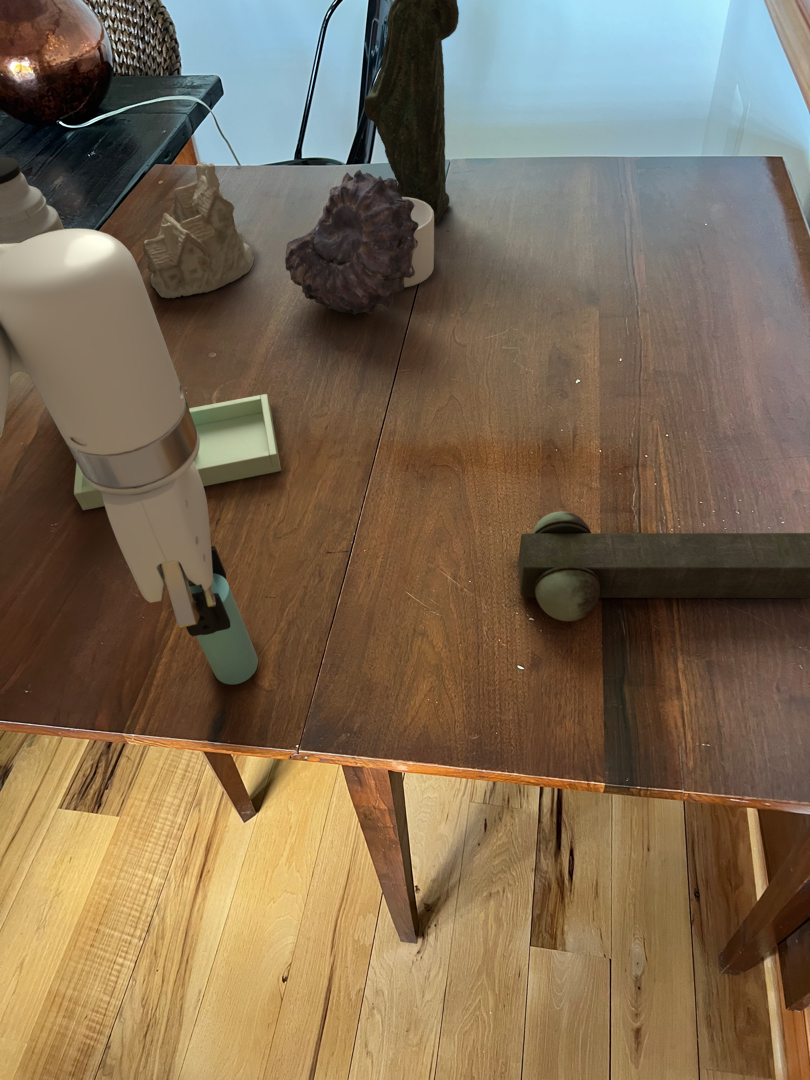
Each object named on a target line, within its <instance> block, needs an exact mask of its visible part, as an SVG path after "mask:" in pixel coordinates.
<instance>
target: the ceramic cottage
mask: <svg viewBox="0 0 810 1080" xmlns="http://www.w3.org/2000/svg"><path fill="white" fill-rule="evenodd" d="M195 173H196V181H193V182H192V183H189V184H186V185H184V186H180V187H177V188H174V189H173V194H172V195H173V205H172V210H171V212H172V214H173V216H174V217H172V216H170V215H169V213H167V212H164V213H162V216H163V217H162V218H161V223H160V226H159V228H160V229H159V233H158V235H157V237H155V238H152V239H145V240H144V242H143V243H142V252H143V254H144V255H145V264H146V266H145V268H146V270H147V269H148V271H149V272H150V273H151V275H150V276H151V277H150V278H149V279H150V283H151V287H152V288H154V289H155V291H156V292H157V293H158V295H159V296H160V297H161V298H165V299H176V298H177V297H178V298H180V297H181V296H183V297H189V296H192V295H196V294H203V293H206V294H207V293H209V292H212V291H215V290H217V289H220V288H221V287H225V286H226V285H227V284H229V283H233V282H234V281H237V280H238V279H240V278H241V277H242V276H245V275H246V274H247V273H249V272H250V271H251V269H252V267H253V265H254V261H255V256H254V253H253V250H252V248H251V246H250V245H248V244H247V243H246V241H245V239H244V237H243V234H242V233H240V232H239V230H238V227H237V225H236V224H235V222H236V221H235V218H234V210H235V206H234V205H233V203H232V202H231V201H230V200H228V199H227V198H225V197H224V195H223V194H222V192H221V190H220V185H221V183H220V180H219V177H218V175H217V174H216V165H215V164H214V163H213V162H211V163H208V164H207V163H206V162H204V161H202V162H199V163H197V164H196V165H195Z"/></svg>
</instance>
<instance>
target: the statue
mask: <svg viewBox="0 0 810 1080" xmlns="http://www.w3.org/2000/svg"><path fill="white" fill-rule="evenodd" d="M459 18H460V11H459V6H458V0H393V1H392V2H391V5H390V7H389V10H388V14H387V18H386V27H387V36H386V39H385V42H384V46H383V49H382V63H381V66H380V69H379V71H378V73H377V75H376V78H375V80H374V83H373V85H372V87H371V90H370V91H369V93H368V95H367V96H365V98H364V101H363V105H364V106H363V107H364V114H365V115H364V116H365V117H366V118H367V120H369V121H371V122H373V124H374V126H375V127H376V131H377V133H378V135H379V137H380V140H381V142H382V144H383V146H384V153H385V157H386V159H387V161H388V164H389V167H390V169H391V171H392V173H393V175H394V179H395V180H397V183H398V186H397V192H398V194H400V195H401V197H409V198H414V199H418V200H421V201H424V202H425V203H427V204H428V205H430V207H431V208H432V210H433V211H434V226H436V225H437V224H438V223H439V222H440V220H441V218H442V217H443V215H444V212H445V211H446V209H447V208H448V206H449V205H450V196H449V194H448V193H447V190H446V188H447V187H446V184H447V183H446V181H447V179H446V178H447V177H446V117H445V110H446V109H445V65H444V53H443V41H444V40H446V39H447V38H449V37H451V36H452V35H453V34H455V32H456V30H457V28H458V24H459Z"/></svg>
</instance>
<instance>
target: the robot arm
mask: <svg viewBox="0 0 810 1080" xmlns="http://www.w3.org/2000/svg"><path fill="white" fill-rule="evenodd" d="M19 372H20V373H21V372H22V373H25V374H26V375H28V376H29V377H30V379H31V381H32V384H33V385H34V387H35V389H36V390H37V392H38V395H39V396H40V398H41V400H42V401H43V403H44V405H45V407H46V408H47V411H48V413H49V414H50V417H51V418H52V420H53V422H54V423H55V425H56V428H57V429H58V431H59V433H60V435H61V437H62V438H63V441H64V443H66V445H67V447H68V449H69V451H70V453H71V455H72V456H73V458H74V460H75V463H77V464H78V466H79V468H80V469H81V472H82V474H83V475H84V477H85V479H86V480H87V482H88V483H89V484H91V485H92V486H93V487H94V488H96V489H98V490H100V491H101V493H102V498H103V501H104V505H105V506H104V508H105V511H106V515H107V518H108V521H109V524H110V526H111V529H112V531H113V534H114V536H115V540H116V541H117V544H118V546H119V548H120V551H121V553H122V555H123V557H124V560H125V562H126V563H127V566H128V568H129V570H130V573H131V575H132V577H133V579H134V582H135V583H136V586H137V588H138V590H139V591H140V592H139V593H140V594H141V595H142V597H143V599H145V600H146V602H148V603H151V604H152V603H155V602H156V603H157V602H162V599H163V592H164V587H165V586H166V588H167V592H168V595H169V599H170V602H171V605H172V609H173V613H174V616H175V621H176V624H177V627H178V628H179V629H182V628H185V629H186V631H187V632H188V635H190V636H192V637H196V636H198V635H208V634H212V633H215V632H216V631H221V630H226V629H229V628H230V619H229V617H228V614H227V612H226V610H225V607H224V605H223V602H222V600H221V598H220V595H219V593H214V592H213V589H212V587H211V584H212V581H213V573H215V574H218V575H220V576H222V577H223V578H225V579H226V580H227V573H226V570H225V568H224V565H223V562H222V559H221V557H220V554H219V552H218V550H217V548H216V545H212V537H211V528H210V527H211V526H210V516H209V507H208V506H209V505H208V502H207V494H206V491H205V488H204V487H205V486H203V484H202V481H201V478H200V475H199V472H198V469H197V467H196V464H195V462H194V460H195V458H196V456H197V454H198V451H199V446H200V439H199V435H198V432H197V430H196V427H195V424H194V421H193V418H192V416H191V413H190V410H189V407H190V406H189V405H188V402H187V399H186V397H185V393H184V391H183V388H182V384H181V382H180V379H179V377H178V374H177V371H176V369H175V366H174V364H173V361H172V358H171V355H170V352H169V349H168V347H167V343H166V341H165V338H164V336H163V332H162V330H161V327H160V324H159V320H158V319H157V315H156V313H155V310H154V307H153V304H152V302H151V299H150V296H149V293H148V290H147V288H146V285H145V283H144V279H143V277H142V274H141V271H140V269H139V267H138V264H137V262H136V260H135V258H134V256H133V255H132V252H130V250H129V249H128V248H127V247H126V245H124V243H122V242H121V241H120V240H119V239H117V238H115V237H114V236H112V235H111V234H109V233H105V232H103V231H99V230H95V229H92V228H91V229H90V228H64V230H57V231H52V232H48V233H44V234H41V235H38V236H35V237H32V238H30V239H27V240H25V241H23V242H21V243H12V244H0V440H1V438H2V435H3V432H4V428H5V423H6V416H7V409H8V400H9V393H10V391H9V390H10V381H11V377H12V376H13V375H15V374H16V373H19ZM195 585H200V589H201V590H202V592H199V593H194V594H191V590H190V586H195Z"/></svg>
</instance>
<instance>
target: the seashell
mask: <svg viewBox="0 0 810 1080" xmlns="http://www.w3.org/2000/svg"><path fill="white" fill-rule="evenodd" d="M397 186H398V181H397V180H396V178H393V177H388V178H386V179H383V177H382V176H381V175H379V176H378V177H375V176H373V175H372V173H370V172H366V173H363V171H361V169H358V170H357V171H356V172H355V173H354V175H353V176H352V175H350V174H349V172H346V173H345V174H344V176H343V177H342V181H341V184H340V185H339V186H337V185H336V186H333V187H331V188H330V190H329V196H328V198H327V202H326V203H325V205H324V206H323V208H322V215H321V217H320V218H319V219H318V221H317V223H316V224H315V226H314V227H313V228H312V229H311V230H310V231H309V232H308V233H307V234H305V235H303V236H300V237H298V238H294V239H293V240H290V241H288V242H287V244H286V250H285V258H284V264H285V270H286V271H288V272H289V275H290V281H292V282H293V284H295V285H297V286H299V287H301V288H302V290H301V292H302V293H303V294H304V297H305V298H306V300H311V301H312V300H313V301H314V302H316V304H319V305H322V306H323V308H325V309H332V310H335V311H337V312H340V313H343V314H344V313H345V314H347V313H349V314H353V315H357V314H362V313H367V314H370V315H372V314H373V312H374V311H375V308H376V307H377V306H379V305H380V306H384V307H386V308H390V306H391V305H393V304H394V302H393V297H394V293H395V294H397V293H399V292H402V291H404V290H405V288H404V277H407V278H411V277H412V276H414V274H415V270H414V268H413V265H412V256H413V253H414V250H415V249H416V247H417V245H418V241H417V240H416V239H415V238H414V233H415V231H416V230H417V228H418V226H419V224H418V223H417V222H415V221H413V220H412V219H411V212H412V210H413V208H414V206H415V205H414V204H413V202H412V201H410V200H408V199H402V197H401V195H400V194H398V192H397Z"/></svg>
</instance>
